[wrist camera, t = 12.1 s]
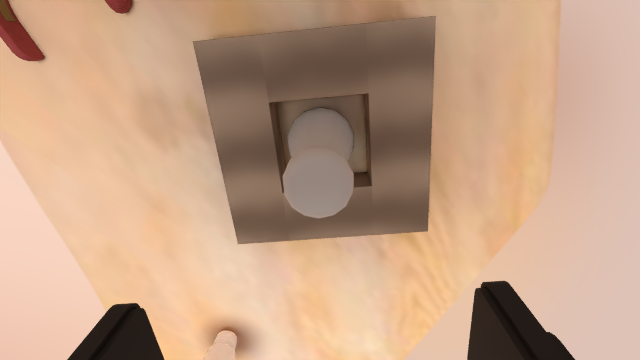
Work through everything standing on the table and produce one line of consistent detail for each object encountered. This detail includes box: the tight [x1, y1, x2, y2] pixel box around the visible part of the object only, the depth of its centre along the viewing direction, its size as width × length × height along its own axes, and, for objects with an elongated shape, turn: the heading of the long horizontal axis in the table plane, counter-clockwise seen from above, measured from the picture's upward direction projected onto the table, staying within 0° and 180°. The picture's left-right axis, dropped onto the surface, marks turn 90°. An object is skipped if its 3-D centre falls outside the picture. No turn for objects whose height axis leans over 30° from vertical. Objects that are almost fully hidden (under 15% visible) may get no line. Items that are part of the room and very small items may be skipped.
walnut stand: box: [193, 16, 436, 244], centre depth 29 cm, size 18×18×4 cm
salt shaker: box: [283, 108, 354, 218], centre depth 24 cm, size 6×6×13 cm
